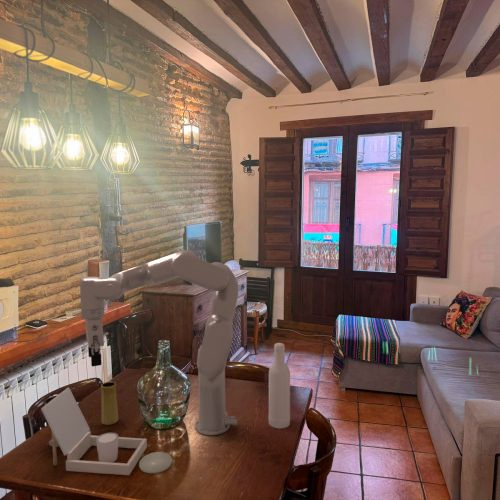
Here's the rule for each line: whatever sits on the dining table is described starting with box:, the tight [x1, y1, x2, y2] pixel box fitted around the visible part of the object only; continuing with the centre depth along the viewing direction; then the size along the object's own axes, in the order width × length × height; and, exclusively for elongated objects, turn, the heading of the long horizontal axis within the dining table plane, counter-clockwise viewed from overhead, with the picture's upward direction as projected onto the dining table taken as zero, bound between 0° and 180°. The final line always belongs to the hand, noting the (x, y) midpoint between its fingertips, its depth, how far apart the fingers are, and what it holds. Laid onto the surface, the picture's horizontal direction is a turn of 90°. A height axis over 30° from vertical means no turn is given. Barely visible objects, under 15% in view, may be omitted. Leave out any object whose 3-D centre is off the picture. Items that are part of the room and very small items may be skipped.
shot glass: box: [96, 432, 120, 463], centre depth 138 cm, size 7×7×7 cm
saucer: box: [138, 451, 173, 474], centre depth 135 cm, size 10×10×1 cm
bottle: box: [267, 342, 291, 430], centre depth 158 cm, size 8×8×30 cm
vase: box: [100, 381, 119, 426], centre depth 161 cm, size 6×6×14 cm
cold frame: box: [40, 387, 148, 476], centre depth 138 cm, size 27×15×20 cm, turn 83°
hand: (94, 360), depth 151 cm, fingers open, 9 cm apart
